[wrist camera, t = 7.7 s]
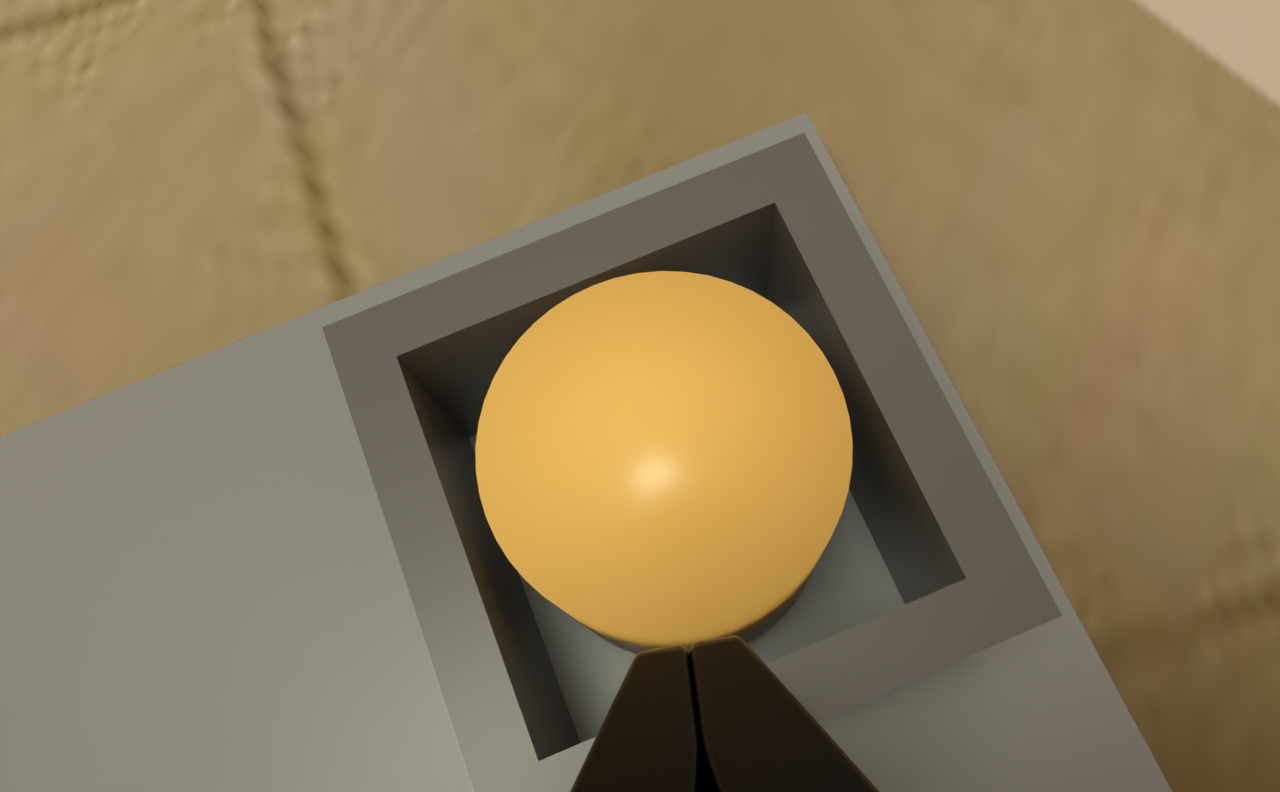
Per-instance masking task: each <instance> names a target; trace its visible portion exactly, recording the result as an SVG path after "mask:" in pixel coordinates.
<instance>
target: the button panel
mask: <svg viewBox="0 0 1280 792" xmlns="http://www.w3.org/2000/svg"><path fill="white" fill-rule="evenodd" d="M655 271H678V272H690V273H696V274H703V275H709V276H712V277H716V278H719V279H723V280H726V281H730V282H732V283H735V284H737V285H740V286H742V287H744V288H747V289H749V290H751V291H753V292H755V293H757V294H759V295H760V296H762V297H764V298H765V299H767V300H769V301H771V302H772V303H774V304H775V305H776V306H778V307H779V308H780V309H782V310H783V311H784V312H786V313H787V314H788V315H789V316H791V317H792V318H793V319H794V320H795V321H796V322H797V323H798V324H799V325H800V326H801V327H802V328H803V329H804V330H805V331H806V332H807V333H808V334H809V335H810V337H811V338H812V339H813V341H814V342H815V343H816V344H817V346H818V347H819V348H820V350H821V351H822V352H823V354H824V356H825V357H826V359H827V361H828V362H829V364H830V366H831V368H832V369H833V371H834V373H835V375H836V378H837V380H838V382H839V385H840V387H841V390H842V392H843V395H844V398H845V402H846V406H847V410H848V413H849V417H850V425H851V433H852V441H853V449H852V471H851V478H850V484H849V490H848V494H847V497H846V501H845V504H844V507H843V511H842V514H841V516H840V518H839V521H838V523H837V525H836V527H835V530H834V532H833V534H832V536H831V538H830V540H829V542H828V544H827V546H826V547H825V549H824V551H823V553H822V555H821V557H820V559H819V561H818V562H817V564H816V566H815V568H814V570H813V572H812V574H811V576H810V577H809V579H808V581H807V583H806V585H805V587H804V588H803V590H802V591H801V593H800V595H799V596H798V598H797V599H796V601H795V602H794V604H793V605H792V606H791V607H790V608H789V610H788V611H787V612H786V613H785V614H784V616H783V617H782V618H781V619H779V620H778V621H777V622H776V623H775V624H774V625H773V626H772V627H771V628H770V629H769V630H767V631H766V632H764V633H763V634H761V635H760V636H758V637H757V638H756V639H754V640H753V641H751V642H749V643H747V644H748V645H749V646H750V648H751V649H752V650H753V651H754V652H755V653H756V654H757V655H758V656H759V658H760V659H761V660H762V661H763V662H764V663H765V664H766V665H767V666H768V668H769V669H770V670H771V671H772V672H773V673H774V674H775V675H776V676H777V678H778V679H779V680H780V681H781V682H782V683H783V684H784V685H785V687H786V688H787V689H788V690H789V691H790V692H791V693H792V694H793V695H794V697H795V698H796V699H797V700H798V701H799V702H800V703H801V704H802V705H803V707H804V708H805V709H806V710H807V711H808V712H809V713H810V714H811V715H812V717H813V718H814V719H815V720H816V721H817V722H818V723H819V724H820V725H821V727H822V728H823V729H824V730H825V731H826V732H827V733H828V734H829V735H830V737H831V738H832V739H833V740H834V741H835V742H836V743H837V744H838V746H839V747H840V748H841V749H842V750H843V751H844V752H845V753H846V754H847V756H848V757H849V758H850V759H851V760H852V761H853V762H854V763H855V764H856V766H857V767H858V768H859V769H860V770H861V771H862V772H863V773H864V774H865V776H866V777H867V778H868V779H869V780H870V781H871V782H872V783H873V784H874V786H875V787H876V788H877V789H878V790H879V791H880V792H1172V790H1171V788H1170V786H1169V784H1168V782H1167V781H1166V779H1165V777H1164V775H1163V773H1162V771H1161V769H1160V768H1159V766H1158V764H1157V762H1156V760H1155V758H1154V756H1153V755H1152V753H1151V751H1150V749H1149V747H1148V745H1147V743H1146V742H1145V740H1144V738H1143V736H1142V734H1141V732H1140V730H1139V729H1138V727H1137V725H1136V723H1135V721H1134V719H1133V717H1132V716H1131V714H1130V712H1129V710H1128V708H1127V706H1126V704H1125V703H1124V701H1123V699H1122V697H1121V695H1120V693H1119V691H1118V690H1117V688H1116V686H1115V684H1114V682H1113V680H1112V678H1111V677H1110V675H1109V673H1108V671H1107V669H1106V667H1105V665H1104V664H1103V662H1102V660H1101V658H1100V656H1099V654H1098V652H1097V651H1096V649H1095V647H1094V645H1093V643H1092V641H1091V639H1090V638H1089V636H1088V634H1087V632H1086V630H1085V628H1084V626H1083V625H1082V623H1081V621H1080V619H1079V617H1078V615H1077V614H1076V612H1075V610H1074V608H1073V606H1072V604H1071V602H1070V601H1069V599H1068V597H1067V595H1066V593H1065V591H1064V589H1063V588H1062V586H1061V584H1060V582H1059V580H1058V578H1057V576H1056V575H1055V573H1054V571H1053V569H1052V567H1051V565H1050V563H1049V562H1048V560H1047V558H1046V556H1045V554H1044V552H1043V550H1042V549H1041V547H1040V545H1039V543H1038V541H1037V539H1036V537H1035V536H1034V534H1033V532H1032V530H1031V528H1030V526H1029V524H1028V523H1027V521H1026V519H1025V517H1024V515H1023V513H1022V511H1021V510H1020V508H1019V506H1018V504H1017V502H1016V500H1015V498H1014V497H1013V495H1012V493H1011V491H1010V489H1009V487H1008V485H1007V484H1006V482H1005V480H1004V478H1003V476H1002V474H1001V472H1000V471H999V469H998V467H997V465H996V463H995V461H994V459H993V458H992V456H991V454H990V452H989V450H988V448H987V446H986V445H985V443H984V441H983V439H982V437H981V435H980V433H979V432H978V430H977V428H976V426H975V424H974V422H973V420H972V419H971V417H970V415H969V413H968V411H967V409H966V407H965V406H964V404H963V402H962V400H961V398H960V396H959V394H958V393H957V391H956V389H955V387H954V385H953V383H952V381H951V380H950V378H949V376H948V374H947V372H946V370H945V368H944V367H943V365H942V363H941V361H940V359H939V357H938V355H937V354H936V352H935V350H934V348H933V346H932V344H931V343H930V341H929V339H928V337H927V335H926V333H925V331H924V330H923V328H922V326H921V324H920V322H919V320H918V318H917V317H916V315H915V313H914V311H913V309H912V307H911V305H910V304H909V302H908V300H907V298H906V296H905V294H904V292H903V291H902V289H901V287H900V285H899V283H898V281H897V279H896V278H895V276H894V274H893V272H892V270H891V268H890V266H889V265H888V263H887V261H886V259H885V257H884V255H883V253H882V252H881V250H880V248H879V246H878V244H877V242H876V240H875V239H874V237H873V235H872V233H871V231H870V229H869V227H868V226H867V224H866V222H865V220H864V218H863V216H862V214H861V213H860V211H859V209H858V207H857V205H856V203H855V201H854V200H853V198H852V196H851V194H850V192H849V190H848V188H847V187H846V185H845V183H844V181H843V179H842V177H841V175H840V174H839V172H838V170H837V168H836V166H835V164H834V162H833V161H832V159H831V157H830V155H829V153H828V151H827V149H826V148H825V146H824V144H823V142H822V140H821V138H820V136H819V135H818V133H817V131H816V129H815V127H814V125H813V123H812V122H811V120H810V118H809V116H808V114H807V112H806V113H803V114H801V115H798V116H796V117H793V118H791V119H788V120H786V121H783V122H781V123H778V124H776V125H773V126H771V127H769V128H766V129H764V130H761V131H759V132H756V133H754V134H751V135H749V136H746V137H744V138H741V139H739V140H736V141H734V142H731V143H729V144H726V145H724V146H721V147H719V148H716V149H714V150H711V151H709V152H707V153H704V154H702V155H699V156H697V157H694V158H692V159H689V160H687V161H684V162H682V163H679V164H677V165H674V166H672V167H669V168H667V169H664V170H662V171H659V172H657V173H654V174H652V175H649V176H647V177H644V178H642V179H640V180H637V181H635V182H632V183H630V184H627V185H625V186H622V187H620V188H617V189H615V190H612V191H610V192H607V193H605V194H602V195H600V196H597V197H595V198H592V199H590V200H587V201H585V202H582V203H580V204H577V205H575V206H573V207H570V208H568V209H565V210H563V211H560V212H558V213H555V214H553V215H550V216H548V217H545V218H543V219H540V220H538V221H535V222H533V223H530V224H528V225H525V226H523V227H520V228H518V229H515V230H513V231H510V232H508V233H506V234H503V235H501V236H498V237H496V238H493V239H491V240H488V241H486V242H483V243H481V244H478V245H476V246H473V247H471V248H468V249H466V250H463V251H461V252H458V253H456V254H453V255H451V256H448V257H446V258H444V259H441V260H439V261H436V262H434V263H431V264H429V265H426V266H424V267H421V268H419V269H416V270H414V271H411V272H409V273H406V274H404V275H401V276H399V277H396V278H394V279H391V280H389V281H386V282H384V283H381V284H379V285H377V286H374V287H372V288H369V289H367V290H364V291H362V292H359V293H357V294H354V295H352V296H349V297H347V298H344V299H342V300H339V301H337V302H334V303H332V304H329V305H327V306H324V307H322V308H319V309H317V310H314V311H312V312H310V313H307V314H305V315H302V316H300V317H297V318H295V319H292V320H290V321H287V322H285V323H282V324H280V325H277V326H275V327H272V328H270V329H267V330H265V331H262V332H260V333H257V334H255V335H252V336H250V337H247V338H245V339H243V340H240V341H238V342H235V343H233V344H230V345H228V346H225V347H223V348H220V349H218V350H215V351H213V352H210V353H208V354H205V355H203V356H200V357H198V358H195V359H193V360H190V361H188V362H185V363H183V364H181V365H178V366H176V367H173V368H171V369H168V370H166V371H163V372H161V373H158V374H156V375H153V376H151V377H148V378H146V379H143V380H141V381H138V382H136V383H133V384H131V385H128V386H126V387H123V388H121V389H118V390H116V391H114V392H111V393H109V394H106V395H104V396H101V397H99V398H96V399H94V400H91V401H89V402H86V403H84V404H81V405H79V406H76V407H74V408H71V409H69V410H66V411H64V412H61V413H59V414H56V415H54V416H51V417H49V418H47V419H44V420H42V421H39V422H37V423H34V424H32V425H29V426H27V427H24V428H22V429H19V430H17V431H14V432H12V433H9V434H7V435H4V436H2V437H0V792H570V791H571V788H572V786H573V784H574V782H575V780H576V778H577V776H578V774H579V772H580V770H581V768H582V765H583V763H584V761H585V759H586V757H587V755H588V753H589V751H590V749H591V747H592V745H593V743H594V740H595V738H596V736H597V734H598V732H599V730H600V728H601V726H602V724H603V722H604V720H605V717H606V715H607V713H608V711H609V709H610V707H611V705H612V703H613V701H614V699H615V697H616V694H617V692H618V690H619V688H620V686H621V684H622V682H623V680H624V678H625V676H626V674H627V672H628V669H629V667H630V665H631V663H632V661H633V659H634V657H635V656H636V655H637V654H635V653H632V652H629V651H626V650H623V649H621V648H619V647H617V646H615V645H613V644H611V643H609V642H607V641H605V640H604V639H602V638H601V637H600V636H598V635H597V634H595V633H594V632H592V631H591V630H590V629H588V628H587V627H585V626H584V625H583V624H581V623H580V622H578V621H577V620H576V619H574V618H573V617H571V616H570V615H569V614H567V613H566V612H564V611H563V610H562V609H560V608H559V607H557V606H556V605H555V604H553V603H552V602H550V601H549V600H548V599H546V598H545V597H543V596H542V595H541V594H540V593H539V592H538V591H537V590H536V589H534V588H533V587H532V586H531V585H530V584H529V583H528V582H527V581H526V580H525V579H524V578H523V577H522V576H521V575H520V573H519V572H518V571H517V570H516V569H515V567H514V566H513V565H512V564H511V562H510V561H509V560H508V558H507V557H506V555H505V554H504V552H503V550H502V549H501V547H500V545H499V544H498V542H497V541H496V539H495V537H494V534H493V532H492V530H491V528H490V525H489V523H488V521H487V519H486V516H485V513H484V509H483V506H482V502H481V499H480V495H479V489H478V482H477V476H476V438H477V430H478V423H479V419H480V415H481V411H482V407H483V404H484V400H485V397H486V395H487V393H488V390H489V388H490V385H491V383H492V380H493V378H494V376H495V374H496V373H497V371H498V369H499V367H500V365H501V364H502V362H503V360H504V358H505V357H506V356H507V354H508V353H509V352H510V350H511V349H512V348H513V346H514V345H515V343H516V342H517V341H518V339H519V338H520V337H521V336H522V335H523V334H524V333H525V332H526V331H527V330H528V329H529V328H530V327H531V326H532V325H533V324H534V323H535V322H536V321H537V320H538V319H540V318H541V317H542V316H543V315H544V314H546V313H547V312H548V311H549V310H550V309H552V308H553V307H555V306H556V305H558V304H559V303H561V302H563V301H564V300H566V299H567V298H569V297H570V296H572V295H574V294H576V293H578V292H580V291H582V290H584V289H587V288H589V287H591V286H593V285H596V284H599V283H601V282H604V281H607V280H610V279H613V278H617V277H622V276H626V275H631V274H636V273H644V272H655Z"/></svg>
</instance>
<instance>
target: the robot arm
mask: <svg viewBox="0 0 1280 792" xmlns="http://www.w3.org/2000/svg"><path fill="white" fill-rule="evenodd" d="M570 792H880V791H879V790H878V789H877V788H876V787H875V786H874V784H873V783H872V782H871V781H870V780H869V779H868V778H867V777H866V776H865V774H864V773H863V772H862V771H861V770H860V769H859V768H858V767H857V766H856V764H855V763H854V762H853V761H852V760H851V759H850V758H849V757H848V756H847V754H846V753H845V752H844V751H843V750H842V749H841V748H840V747H839V746H838V744H837V743H836V742H835V741H834V740H833V739H832V738H831V737H830V735H829V734H828V733H827V732H826V731H825V730H824V729H823V728H822V727H821V725H820V724H819V723H818V722H817V721H816V720H815V719H814V718H813V717H812V715H811V714H810V713H809V712H808V711H807V710H806V709H805V708H804V707H803V705H802V704H801V703H800V702H799V701H798V700H797V699H796V698H795V697H794V695H793V694H792V693H791V692H790V691H789V690H788V689H787V688H786V687H785V685H784V684H783V683H782V682H781V681H780V680H779V679H778V678H777V676H776V675H775V674H774V673H773V672H772V671H771V670H770V669H769V668H768V666H767V665H766V664H765V663H764V662H763V661H762V660H761V659H760V658H759V656H758V655H757V654H756V653H755V652H754V651H753V650H752V649H751V648H750V646H749V645H748V644H747V643H746V642H745V641H744V640H743V639H742V638H740V637H738V636H734V635H731V636H726V637H720V638H714V639H708V640H702V641H697V642H694V643H693V644H692V645H691V647H690V654H689V651H688V649H687V648H686V647H685V646H683V645H673V646H667V647H661V648H656V649H650V650H644V651H641V652H639V653H638V654H637V655H636V656H635V657H634V659H633V661H632V663H631V665H630V667H629V669H628V672H627V674H626V676H625V678H624V680H623V682H622V684H621V686H620V688H619V690H618V692H617V694H616V697H615V699H614V701H613V703H612V705H611V707H610V709H609V711H608V713H607V715H606V717H605V720H604V722H603V724H602V726H601V728H600V730H599V732H598V734H597V736H596V738H595V740H594V743H593V745H592V747H591V749H590V751H589V753H588V755H587V757H586V759H585V761H584V763H583V765H582V768H581V770H580V772H579V774H578V776H577V778H576V780H575V782H574V784H573V786H572V788H571V791H570Z"/></svg>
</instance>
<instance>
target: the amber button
mask: <svg viewBox="0 0 1280 792" xmlns="http://www.w3.org/2000/svg"><path fill="white" fill-rule="evenodd" d="M852 449H853V441H852V433H851V425H850V417H849V413H848V410H847V406H846V402H845V398H844V395H843V392H842V390H841V387H840V385H839V382H838V380H837V378H836V375H835V373H834V371H833V369H832V368H831V366H830V364H829V362H828V361H827V359H826V357H825V356H824V354H823V352H822V351H821V350H820V348H819V347H818V346H817V344H816V343H815V342H814V341H813V339H812V338H811V337H810V335H809V334H808V333H807V332H806V331H805V330H804V329H803V328H802V327H801V326H800V325H799V324H798V323H797V322H796V321H795V320H794V319H793V318H792V317H791V316H789V315H788V314H787V313H786V312H784V311H783V310H782V309H780V308H779V307H778V306H776V305H775V304H774V303H772V302H771V301H769V300H767V299H765V298H764V297H762V296H760V295H759V294H757V293H755V292H753V291H751V290H749V289H747V288H744V287H742V286H740V285H737V284H735V283H732V282H730V281H726V280H723V279H719V278H716V277H712V276H709V275H703V274H696V273H690V272H678V271H655V272H644V273H636V274H631V275H626V276H622V277H617V278H613V279H610V280H607V281H604V282H601V283H599V284H596V285H593V286H591V287H589V288H587V289H584V290H582V291H580V292H578V293H576V294H574V295H572V296H570V297H569V298H567V299H566V300H564V301H563V302H561V303H559V304H558V305H556V306H555V307H553V308H552V309H550V310H549V311H548V312H547V313H546V314H544V315H543V316H542V317H541V318H540V319H538V320H537V321H536V322H535V323H534V324H533V325H532V326H531V327H530V328H529V329H528V330H527V331H526V332H525V333H524V334H523V335H522V336H521V337H520V338H519V339H518V341H517V342H516V343H515V345H514V346H513V348H512V349H511V350H510V352H509V353H508V354H507V356H506V357H505V358H504V360H503V362H502V364H501V365H500V367H499V369H498V371H497V373H496V374H495V376H494V378H493V380H492V383H491V385H490V388H489V390H488V393H487V395H486V397H485V400H484V404H483V407H482V411H481V415H480V419H479V423H478V430H477V438H476V476H477V482H478V489H479V495H480V499H481V502H482V506H483V509H484V513H485V516H486V519H487V521H488V523H489V525H490V528H491V530H492V532H493V534H494V537H495V539H496V541H497V542H498V544H499V545H500V547H501V549H502V550H503V552H504V554H505V555H506V557H507V558H508V560H509V561H510V562H511V564H512V565H513V566H514V567H515V569H516V570H517V571H518V572H519V573H520V575H521V576H522V577H523V578H524V579H525V580H526V581H527V582H528V583H529V584H530V585H531V586H532V587H533V588H534V589H536V590H537V591H538V592H539V593H540V594H541V595H542V596H543V597H545V598H546V599H548V600H549V601H550V602H552V603H553V604H555V605H556V606H557V607H559V608H560V609H562V610H563V611H564V612H566V613H567V614H569V615H570V616H571V617H573V618H574V619H576V620H577V621H578V622H580V623H581V624H583V625H584V626H585V627H587V628H588V629H590V630H591V631H592V632H594V633H595V634H597V635H598V636H600V637H601V638H602V639H604V640H605V641H607V642H609V643H611V644H613V645H615V646H617V647H619V648H621V649H623V650H626V651H629V652H632V653H635V654H638V653H639V652H641V651H644V650H650V649H656V648H661V647H667V646H673V645H683V646H685V647H686V648H687V649H688V651H689V654H690V647H691V645H692V644H693V643H694V642H697V641H702V640H708V639H714V638H720V637H726V636H731V635H734V636H738V637H740V638H742V639H743V640H744V641H745V642H746V643H749V642H751V641H753V640H754V639H756V638H757V637H758V636H760V635H761V634H763V633H764V632H766V631H767V630H769V629H770V628H771V627H772V626H773V625H774V624H775V623H776V622H777V621H778V620H779V619H781V618H782V617H783V616H784V614H785V613H786V612H787V611H788V610H789V608H790V607H791V606H792V605H793V604H794V602H795V601H796V599H797V598H798V596H799V595H800V593H801V591H802V590H803V588H804V587H805V585H806V583H807V581H808V579H809V577H810V576H811V574H812V572H813V570H814V568H815V566H816V564H817V562H818V561H819V559H820V557H821V555H822V553H823V551H824V549H825V547H826V546H827V544H828V542H829V540H830V538H831V536H832V534H833V532H834V530H835V527H836V525H837V523H838V521H839V518H840V516H841V514H842V511H843V507H844V504H845V501H846V497H847V494H848V490H849V484H850V478H851V471H852Z"/></svg>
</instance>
